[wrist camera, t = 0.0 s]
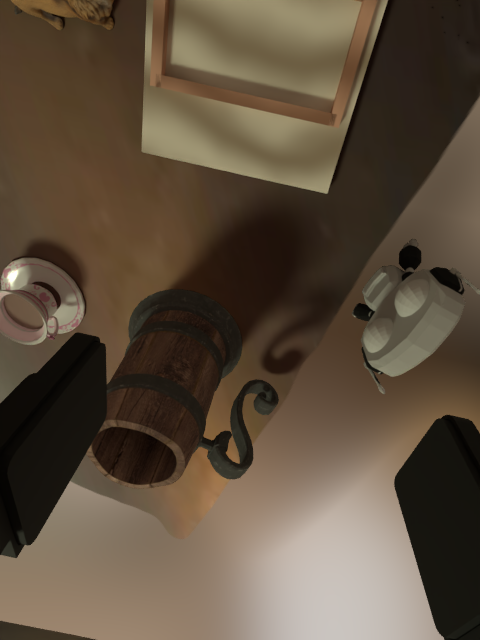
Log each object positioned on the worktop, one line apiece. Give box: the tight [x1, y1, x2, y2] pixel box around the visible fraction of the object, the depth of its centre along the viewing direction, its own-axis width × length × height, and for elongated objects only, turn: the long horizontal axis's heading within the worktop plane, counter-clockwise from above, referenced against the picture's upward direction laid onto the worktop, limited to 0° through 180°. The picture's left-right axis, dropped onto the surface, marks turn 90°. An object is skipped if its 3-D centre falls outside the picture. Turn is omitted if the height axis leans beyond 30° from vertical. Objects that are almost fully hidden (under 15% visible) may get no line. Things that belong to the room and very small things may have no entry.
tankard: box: [86, 290, 279, 489], centre depth 42 cm, size 24×17×20 cm
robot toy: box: [352, 239, 480, 394], centre depth 35 cm, size 12×4×15 cm, turn 153°
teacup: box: [0, 257, 85, 345], centre depth 46 cm, size 12×12×6 cm
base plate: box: [142, 0, 388, 194], centre depth 30 cm, size 22×20×3 cm
